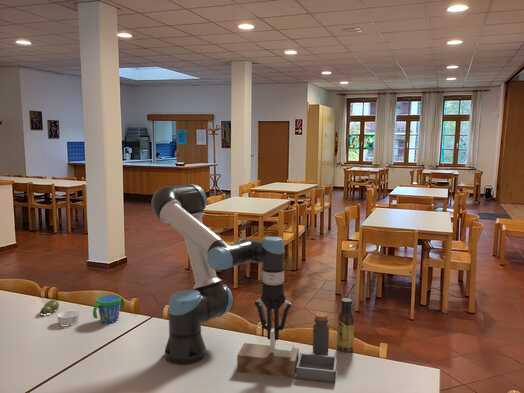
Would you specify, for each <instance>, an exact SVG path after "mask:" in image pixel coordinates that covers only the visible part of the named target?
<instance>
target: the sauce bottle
mask: <svg viewBox="0 0 524 393" xmlns="http://www.w3.org/2000/svg"><path fill="white" fill-rule="evenodd" d="M340 304H341V309H340V313H338V316H337V325H336V326H337V332H336V333H337V334H336V344H337V345H336V348H337V350H339V351H340V352H343V353H350V352H352V351H353V349H354V343H355V342H354V341H355V340H354V336H355V316H354V313H353V312H352V305H353V300H352V299H351V298H349V297H344V298H342V299H341V301H340Z"/></svg>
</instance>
